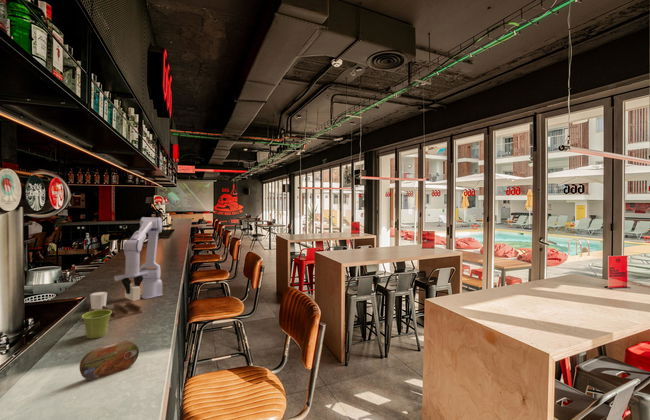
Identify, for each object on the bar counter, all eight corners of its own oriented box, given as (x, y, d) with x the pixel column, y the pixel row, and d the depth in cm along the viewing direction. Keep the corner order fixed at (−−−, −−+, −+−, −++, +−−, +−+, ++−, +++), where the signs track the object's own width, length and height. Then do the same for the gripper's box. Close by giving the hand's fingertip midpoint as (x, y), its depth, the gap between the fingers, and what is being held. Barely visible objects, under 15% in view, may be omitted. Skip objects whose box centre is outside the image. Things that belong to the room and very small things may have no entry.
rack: (128, 306, 152) (128, 300, 152) (141, 312, 144) (141, 306, 144) (87, 315, 138) (87, 309, 138) (99, 323, 130) (99, 316, 130)
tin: (80, 385, 87) (80, 356, 87) (78, 380, 89) (78, 352, 89) (139, 364, 98) (139, 339, 98) (135, 361, 100) (136, 336, 100)
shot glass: (97, 310, 145) (97, 296, 145) (86, 309, 146) (86, 294, 146) (110, 305, 152) (110, 292, 152) (99, 304, 153) (99, 290, 153)
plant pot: (117, 332, 121) (117, 311, 121) (92, 342, 112) (92, 319, 112) (100, 329, 124) (101, 308, 124) (75, 338, 116) (75, 316, 115)
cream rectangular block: (131, 295, 150) (131, 283, 150) (140, 299, 145) (140, 287, 145) (124, 297, 148) (125, 285, 148) (133, 301, 143) (133, 288, 143)
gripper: (119, 268, 138) (118, 297, 138) (152, 263, 150) (151, 291, 150) (112, 266, 142) (112, 294, 142) (145, 261, 154) (144, 288, 154)
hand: (132, 292), depth 147 cm, fingers closed on cream rectangular block, 3 cm apart
